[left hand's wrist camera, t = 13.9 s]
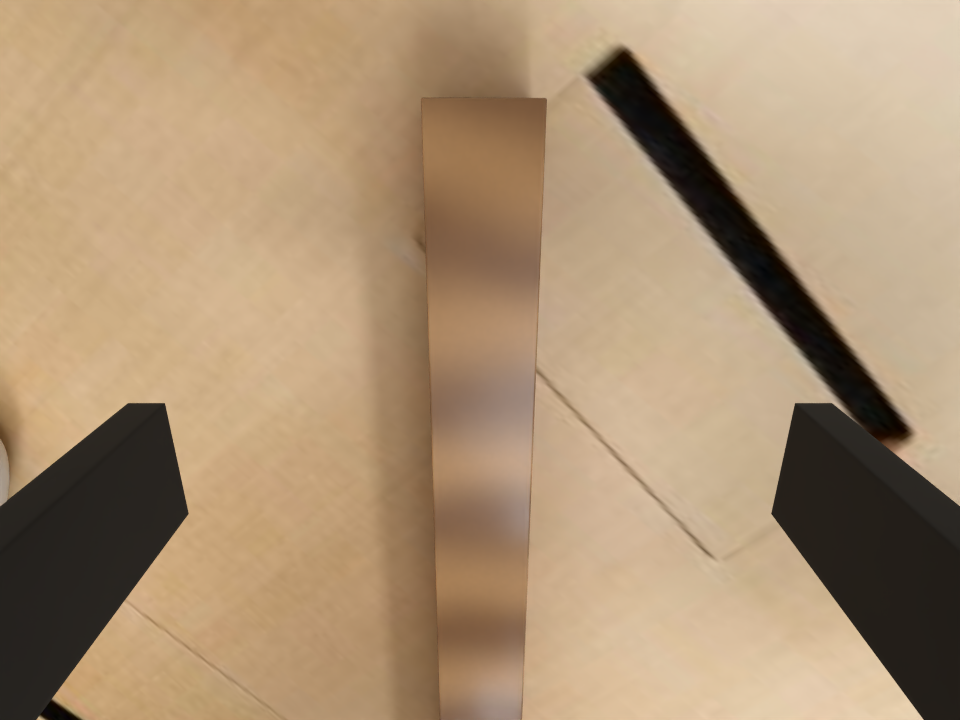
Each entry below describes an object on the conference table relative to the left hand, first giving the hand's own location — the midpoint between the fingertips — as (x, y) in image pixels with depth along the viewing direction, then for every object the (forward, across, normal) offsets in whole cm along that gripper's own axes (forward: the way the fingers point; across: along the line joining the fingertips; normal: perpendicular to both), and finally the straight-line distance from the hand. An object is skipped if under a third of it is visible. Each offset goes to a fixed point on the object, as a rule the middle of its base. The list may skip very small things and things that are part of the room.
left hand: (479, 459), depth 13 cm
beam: (+24, 0, -22) cm, 33 cm away
